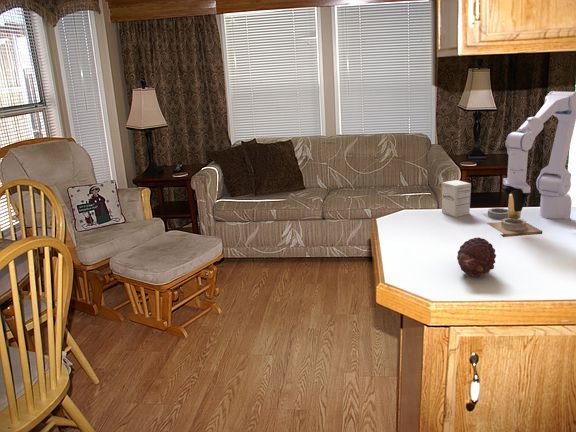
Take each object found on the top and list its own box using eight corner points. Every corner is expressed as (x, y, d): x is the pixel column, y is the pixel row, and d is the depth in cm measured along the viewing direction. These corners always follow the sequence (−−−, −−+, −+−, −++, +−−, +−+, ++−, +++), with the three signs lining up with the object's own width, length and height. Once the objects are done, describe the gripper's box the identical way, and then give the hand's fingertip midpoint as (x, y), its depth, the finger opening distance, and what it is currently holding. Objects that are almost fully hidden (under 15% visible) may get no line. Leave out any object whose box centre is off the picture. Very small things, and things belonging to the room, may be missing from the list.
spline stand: (505, 214, 203) (505, 206, 202) (517, 221, 194) (517, 213, 194) (481, 216, 202) (482, 208, 201) (492, 223, 194) (493, 214, 193)
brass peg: (516, 215, 186) (518, 192, 184) (522, 218, 182) (524, 194, 180) (505, 216, 186) (506, 193, 184) (511, 219, 182) (513, 195, 180)
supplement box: (440, 215, 207) (441, 182, 203) (456, 212, 210) (457, 179, 206) (454, 219, 200) (455, 185, 197) (470, 216, 203) (471, 182, 200)
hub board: (522, 223, 192) (522, 214, 191) (542, 234, 179) (542, 225, 179) (486, 225, 191) (486, 217, 190) (503, 237, 178) (504, 228, 178)
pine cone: (458, 260, 160) (459, 227, 157) (495, 263, 156) (497, 229, 154) (454, 283, 144) (455, 247, 141) (494, 287, 140) (496, 250, 138)
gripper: (495, 166, 186) (493, 204, 190) (516, 174, 172) (513, 215, 176) (515, 164, 187) (512, 203, 191) (538, 172, 173) (534, 214, 177)
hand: (514, 209), depth 183 cm, fingers closed on brass peg, 4 cm apart
